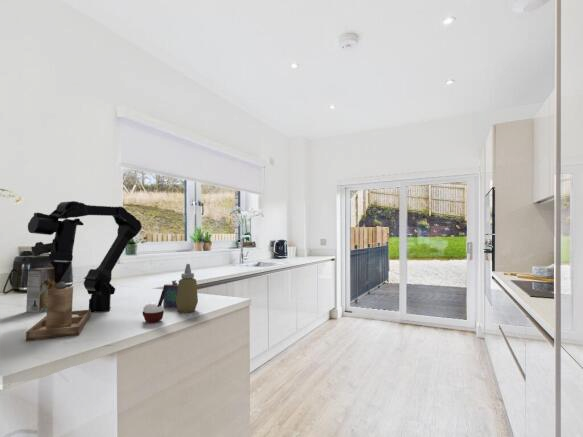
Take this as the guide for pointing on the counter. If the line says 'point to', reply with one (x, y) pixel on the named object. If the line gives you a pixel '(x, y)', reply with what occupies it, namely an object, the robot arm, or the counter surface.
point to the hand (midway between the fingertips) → (57, 281)
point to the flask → (171, 295)
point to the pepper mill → (59, 306)
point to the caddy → (76, 327)
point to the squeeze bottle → (187, 292)
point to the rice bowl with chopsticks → (154, 309)
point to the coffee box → (39, 288)
